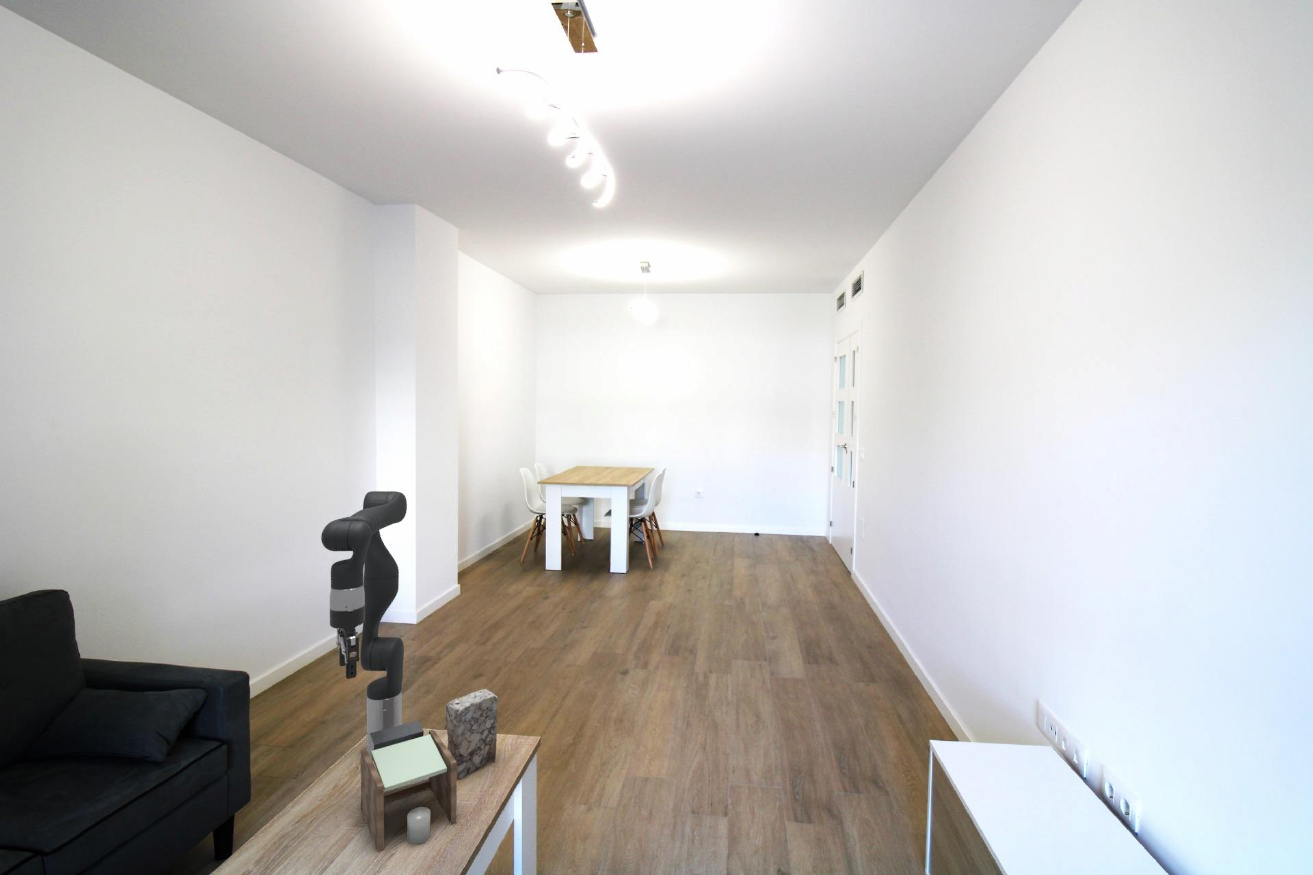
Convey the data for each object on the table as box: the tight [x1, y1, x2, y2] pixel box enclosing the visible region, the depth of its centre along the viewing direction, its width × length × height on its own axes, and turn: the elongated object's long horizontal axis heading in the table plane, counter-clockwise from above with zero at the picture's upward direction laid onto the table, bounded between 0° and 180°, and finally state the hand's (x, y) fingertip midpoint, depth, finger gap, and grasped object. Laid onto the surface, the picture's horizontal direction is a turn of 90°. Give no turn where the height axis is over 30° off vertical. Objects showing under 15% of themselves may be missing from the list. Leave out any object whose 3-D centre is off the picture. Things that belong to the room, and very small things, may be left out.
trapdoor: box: [369, 720, 447, 793], centre depth 155 cm, size 21×14×3 cm, turn 36°
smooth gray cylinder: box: [406, 806, 431, 846], centre depth 145 cm, size 5×5×6 cm
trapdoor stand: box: [360, 729, 458, 853], centre depth 152 cm, size 18×18×15 cm
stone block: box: [445, 688, 499, 780], centre depth 173 cm, size 13×7×20 cm, turn 145°
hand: (347, 671), depth 150 cm, fingers open, 8 cm apart
